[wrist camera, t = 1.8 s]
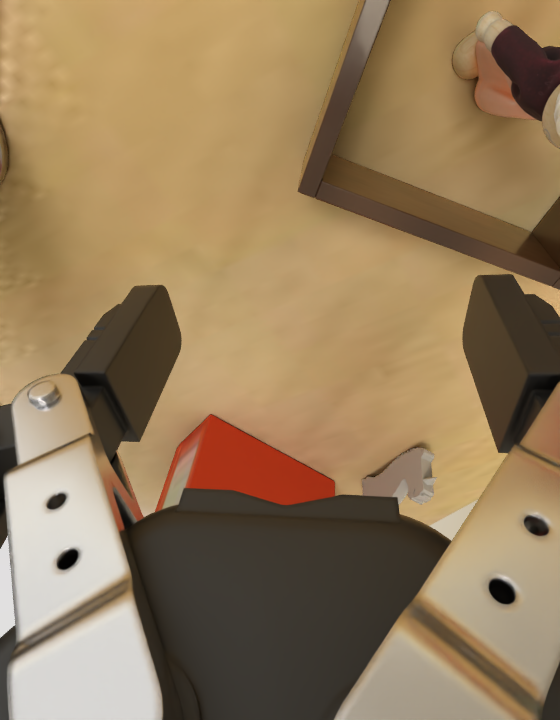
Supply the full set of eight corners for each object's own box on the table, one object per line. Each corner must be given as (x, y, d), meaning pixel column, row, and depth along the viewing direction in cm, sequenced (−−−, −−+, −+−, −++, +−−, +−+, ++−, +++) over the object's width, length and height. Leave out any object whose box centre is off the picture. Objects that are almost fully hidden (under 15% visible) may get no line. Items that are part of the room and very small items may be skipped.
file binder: (212, 412, 44) (65, 914, 20) (336, 479, 50) (336, 930, 26) (177, 445, 49) (23, 886, 25) (294, 503, 54) (261, 905, 30)
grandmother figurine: (419, 80, 23) (475, 141, 14) (461, -7, 21) (565, -4, 11) (537, 134, 24) (663, 224, 15) (590, 58, 22) (782, 109, 12)
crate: (303, 161, 27) (297, 192, 23) (446, -252, 16) (482, -333, 12) (533, 249, 29) (566, 292, 25) (789, -63, 19) (917, -78, 14)
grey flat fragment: (362, 478, 49) (424, 438, 43) (371, 483, 50) (434, 443, 44) (363, 525, 45) (433, 488, 39) (373, 529, 45) (444, 493, 39)
